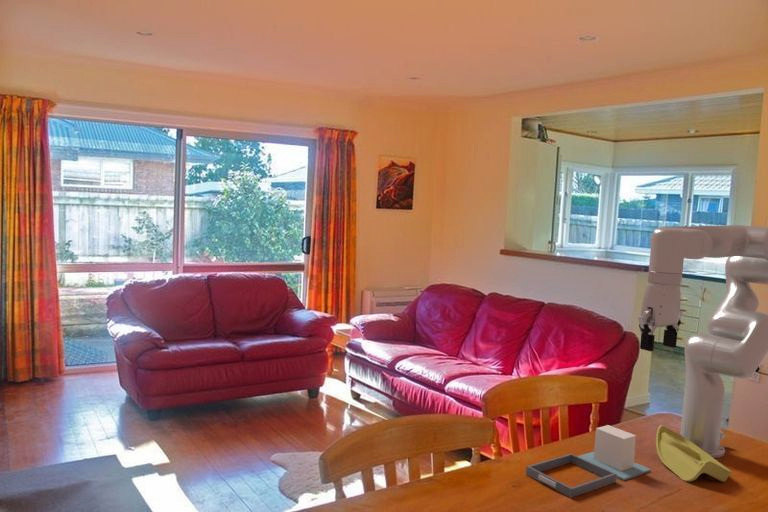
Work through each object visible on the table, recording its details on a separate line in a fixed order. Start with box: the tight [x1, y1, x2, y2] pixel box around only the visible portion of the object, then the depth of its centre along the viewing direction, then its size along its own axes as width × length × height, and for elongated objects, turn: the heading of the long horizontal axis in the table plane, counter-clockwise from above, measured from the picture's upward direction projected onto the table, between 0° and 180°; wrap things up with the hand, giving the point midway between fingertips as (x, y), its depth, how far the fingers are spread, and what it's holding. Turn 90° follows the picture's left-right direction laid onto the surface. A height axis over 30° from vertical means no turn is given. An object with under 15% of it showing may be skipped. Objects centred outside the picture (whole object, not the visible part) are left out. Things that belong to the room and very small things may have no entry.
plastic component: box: [655, 424, 732, 483], centre depth 158 cm, size 20×7×10 cm
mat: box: [577, 451, 652, 481], centre depth 157 cm, size 11×14×1 cm
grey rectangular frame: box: [525, 453, 617, 499], centre depth 147 cm, size 17×13×2 cm
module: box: [593, 424, 637, 471], centre depth 156 cm, size 5×8×8 cm, turn 35°
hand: (658, 348), depth 154 cm, fingers open, 9 cm apart
